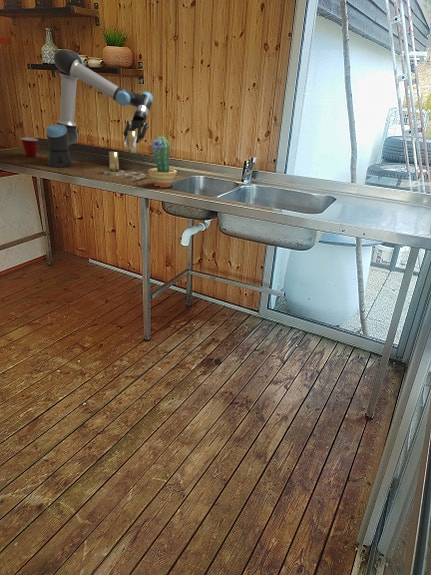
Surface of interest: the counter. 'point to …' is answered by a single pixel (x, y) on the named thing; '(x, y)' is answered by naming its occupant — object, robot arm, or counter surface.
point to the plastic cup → (30, 146)
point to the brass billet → (131, 142)
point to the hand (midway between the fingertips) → (129, 146)
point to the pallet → (125, 175)
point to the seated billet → (113, 162)
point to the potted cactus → (162, 163)
